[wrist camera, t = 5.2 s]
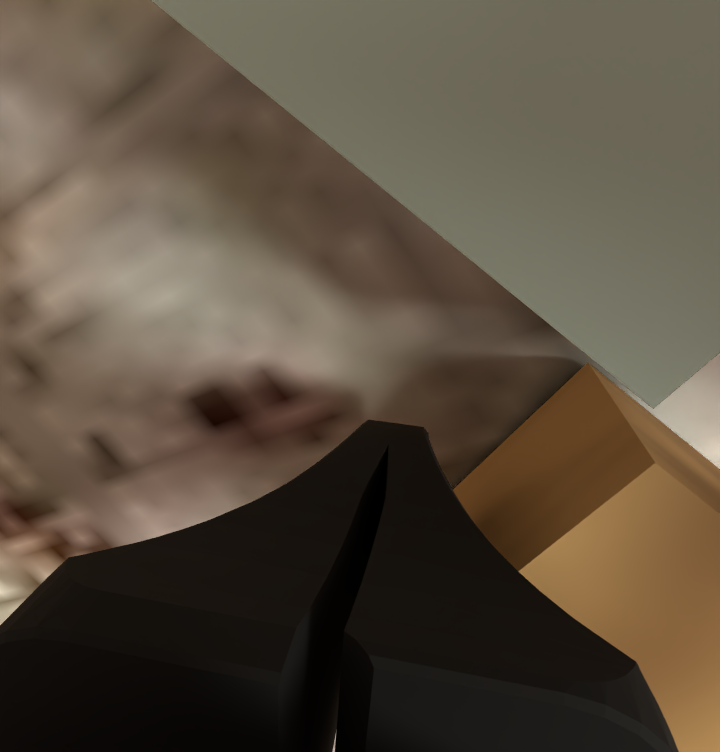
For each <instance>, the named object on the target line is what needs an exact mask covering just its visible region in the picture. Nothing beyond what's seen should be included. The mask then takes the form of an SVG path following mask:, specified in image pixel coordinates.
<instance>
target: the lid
mask: <svg viewBox="0 0 720 752" xmlns="http://www.w3.org/2000/svg"><path fill="white" fill-rule="evenodd" d="M151 1H152V2H153V3H155V4H156V5H157V6H158V7H160V8H161V9H162V10H163V11H165V12H166V13H167V14H168V15H169V16H171V17H172V18H173V19H174V20H176V21H177V22H178V23H179V24H181V25H182V26H183V27H184V28H185V29H187V30H188V31H189V32H190V33H192V34H193V35H194V36H195V37H196V38H198V39H199V40H200V41H201V42H203V43H204V44H205V45H206V46H208V47H209V48H210V49H211V50H212V51H214V52H215V53H216V54H217V55H219V56H220V57H221V58H222V59H224V60H225V61H226V62H227V63H228V64H230V65H231V66H232V67H233V68H235V69H236V70H237V71H238V72H240V73H241V74H242V75H243V76H244V77H246V78H247V79H248V80H249V81H251V82H252V83H253V84H254V85H256V86H257V87H258V88H259V89H260V90H262V91H263V92H264V93H265V94H267V95H268V96H269V97H270V98H272V99H273V100H274V101H275V102H276V103H278V104H279V105H280V106H281V107H283V108H284V109H285V110H286V111H288V112H289V113H290V114H291V115H292V116H294V117H295V118H296V119H297V120H299V121H300V122H301V123H302V124H304V125H305V126H306V127H307V128H308V129H310V130H311V131H312V132H313V133H315V134H316V135H317V136H318V137H320V138H321V139H322V140H323V141H324V142H326V143H327V144H328V145H329V146H331V147H332V148H333V149H334V150H336V151H337V152H338V153H339V154H340V155H342V156H343V157H344V158H345V159H347V160H348V161H349V162H350V163H351V164H353V165H354V166H355V167H356V168H358V169H359V170H360V171H361V172H363V173H364V174H365V175H366V176H367V177H369V178H370V179H371V180H372V181H374V182H375V183H376V184H377V185H379V186H380V187H381V188H382V189H383V190H385V191H386V192H387V193H388V194H390V195H391V196H392V197H393V198H395V199H396V200H397V201H398V202H399V203H401V204H402V205H403V206H404V207H406V208H407V209H408V210H409V211H411V212H412V213H413V214H414V215H415V216H417V217H418V218H419V219H420V220H422V221H423V222H424V223H425V224H427V225H428V226H429V227H430V228H431V229H433V230H434V231H435V232H436V233H438V234H439V235H440V236H441V237H443V238H444V239H445V240H446V241H447V242H449V243H450V244H451V245H452V246H454V247H455V248H456V249H457V250H459V251H460V252H461V253H462V254H463V255H465V256H466V257H467V258H468V259H470V260H471V261H472V262H473V263H475V264H476V265H477V266H478V267H479V268H481V269H482V270H483V271H484V272H486V273H487V274H488V275H489V276H491V277H492V278H493V279H494V280H495V281H497V282H498V283H499V284H500V285H502V286H503V287H504V288H505V289H506V290H508V291H509V292H510V293H511V294H513V295H514V296H515V297H516V298H518V299H519V300H520V301H521V302H522V303H524V304H525V305H526V306H527V307H529V308H530V309H531V310H532V311H534V312H535V313H536V314H537V315H538V316H540V317H541V318H542V319H543V320H545V321H546V322H547V323H548V324H550V325H551V326H552V327H553V328H554V329H556V330H557V331H558V332H559V333H561V334H562V335H563V336H564V337H566V338H567V339H568V340H569V341H570V342H572V343H573V344H574V345H575V346H577V347H578V348H579V349H580V350H582V351H583V352H584V353H585V354H586V355H588V356H589V357H590V358H591V359H593V360H594V361H595V362H596V363H598V364H599V365H600V366H601V367H602V368H604V369H605V370H606V371H607V372H609V373H610V374H611V375H612V376H614V377H615V378H616V379H617V380H618V381H620V382H621V383H622V384H623V385H625V386H626V387H627V388H628V389H630V390H631V391H632V392H633V393H634V394H636V395H637V396H638V397H639V398H641V399H642V400H643V401H644V402H646V403H647V404H648V405H649V406H650V407H652V408H653V409H654V408H655V407H656V406H657V405H658V404H659V403H661V402H662V401H663V400H664V399H665V398H667V397H668V396H669V395H670V394H671V393H672V392H674V391H675V390H676V389H677V388H678V387H680V386H681V385H682V384H683V383H684V382H685V381H687V380H688V379H689V378H690V377H691V376H693V375H694V374H695V373H696V372H697V371H699V370H700V369H701V368H702V367H703V366H704V365H706V364H707V363H708V362H709V361H710V360H712V359H713V358H714V357H715V356H716V355H717V354H719V353H720V0H151Z"/></svg>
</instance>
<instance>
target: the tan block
mask: <svg viewBox="0 0 720 752" xmlns="http://www.w3.org/2000/svg"><path fill="white" fill-rule="evenodd" d="M453 491H454V493H455V495H456V496H457V498H458V499H459V501H460V502H461V504H462V506H463V507H464V509H465V510H466V512H467V513H468V514H469V516H470V517H471V519H472V520H473V521H474V523H475V524H476V526H477V527H478V528H479V529H480V531H481V532H482V533H483V534H484V536H485V537H486V538H487V539H488V541H489V542H490V543H491V544H492V545H493V546H494V547H495V548H496V549H497V550H498V552H499V553H500V554H501V555H502V556H503V557H504V558H505V559H506V560H507V561H508V562H509V563H510V564H511V565H512V566H513V567H514V568H515V569H516V570H517V571H518V572H519V573H521V574H522V575H523V576H524V577H525V578H526V579H527V580H528V581H529V582H531V583H532V584H533V585H534V586H535V587H536V588H537V589H538V590H539V591H541V592H542V593H543V594H544V595H546V596H547V597H548V598H549V599H551V600H552V601H553V602H554V603H555V604H557V605H558V606H559V607H560V608H562V609H563V610H564V611H565V612H566V613H568V614H569V615H570V616H572V617H573V618H574V619H576V620H577V621H578V622H580V623H581V624H583V625H584V626H586V627H587V628H588V629H590V630H591V631H593V632H594V633H596V634H597V635H599V636H600V637H601V638H603V639H604V640H606V641H607V642H609V643H610V644H611V645H613V646H614V647H616V648H617V649H619V650H620V651H622V652H623V653H624V654H626V655H627V656H629V657H630V658H632V659H633V660H634V661H636V662H637V664H638V666H639V668H640V670H641V672H642V674H643V676H644V678H645V680H646V682H647V684H648V686H649V688H650V690H651V691H652V693H653V695H654V697H655V699H656V701H657V703H658V705H659V707H660V709H661V711H662V714H663V716H664V718H665V720H666V722H667V724H668V726H669V729H670V731H671V733H672V736H673V738H674V741H675V743H676V746H677V749H678V751H679V752H720V469H719V468H717V467H716V466H715V465H714V464H713V463H711V462H710V461H709V460H708V459H706V458H705V457H704V456H703V455H701V454H700V453H699V452H698V451H696V450H695V449H694V448H693V447H692V446H690V445H689V444H688V443H687V442H685V441H684V440H683V439H682V438H680V437H679V436H678V435H677V434H676V433H674V432H673V431H672V430H671V429H669V428H668V427H667V426H666V425H664V424H663V423H662V422H661V421H660V420H658V419H657V418H656V417H655V416H653V415H652V414H651V413H650V412H648V411H647V410H646V409H645V408H643V407H642V406H641V405H640V404H639V403H637V402H636V401H635V400H634V399H632V398H631V397H630V396H629V395H627V394H626V393H625V392H624V391H623V390H621V389H620V388H619V387H618V386H616V385H615V384H614V383H613V382H611V381H610V380H609V379H608V378H607V377H605V376H604V375H603V374H602V373H600V372H599V371H598V370H597V369H595V368H594V367H593V366H592V365H590V364H589V363H587V364H585V365H584V366H583V367H582V368H581V369H580V370H579V371H578V372H577V373H576V374H575V375H574V376H573V377H572V378H571V379H570V380H569V381H567V382H566V383H565V384H564V385H563V386H562V387H561V388H560V389H559V390H558V391H557V392H556V393H555V394H554V395H553V396H552V397H551V398H549V399H548V400H547V401H546V402H545V403H544V404H543V405H542V406H541V407H540V408H539V409H538V410H537V411H536V412H535V413H534V414H533V415H531V416H530V417H529V418H528V419H527V420H526V421H525V422H524V423H523V424H522V425H521V426H520V427H519V428H518V429H517V430H516V431H515V432H513V433H512V434H511V435H510V436H509V437H508V438H507V439H506V440H505V441H504V442H503V443H502V444H501V445H500V446H499V447H498V448H497V449H495V450H494V451H493V452H492V453H491V454H490V455H489V456H488V457H487V458H486V459H485V460H484V461H483V462H482V463H481V464H480V465H479V466H477V467H476V468H475V469H474V470H473V471H472V472H471V473H470V474H469V475H468V476H467V477H466V478H465V479H464V480H463V481H462V482H461V483H459V484H458V485H457V486H456V487H455V488H454V489H453Z"/></svg>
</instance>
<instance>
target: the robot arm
mask: <svg viewBox="0 0 720 752" xmlns="http://www.w3.org/2000/svg"><path fill="white" fill-rule="evenodd" d="M336 729H337V732H336ZM335 734H336V745H335V752H679V751H678V749H677V746H676V743H675V741H674V738H673V736H672V733H671V731H670V729H669V726H668V724H667V722H666V720H665V718H664V716H663V714H662V711H661V709H660V707H659V705H658V703H657V701H656V699H655V697H654V695H653V693H652V691H651V690H650V688H649V686H648V684H647V682H646V680H645V678H644V676H643V674H642V672H641V670H640V668H639V666H638V664H637V662H636V661H634V660H633V659H632V658H630V657H629V656H627V655H626V654H624V653H623V652H622V651H620V650H619V649H617V648H616V647H614V646H613V645H611V644H610V643H609V642H607V641H606V640H604V639H603V638H601V637H600V636H599V635H597V634H596V633H594V632H593V631H591V630H590V629H588V628H587V627H586V626H584V625H583V624H581V623H580V622H578V621H577V620H576V619H574V618H573V617H572V616H570V615H569V614H568V613H566V612H565V611H564V610H563V609H562V608H560V607H559V606H558V605H557V604H555V603H554V602H553V601H552V600H551V599H549V598H548V597H547V596H546V595H544V594H543V593H542V592H541V591H539V590H538V589H537V588H536V587H535V586H534V585H533V584H532V583H531V582H529V581H528V580H527V579H526V578H525V577H524V576H523V575H522V574H521V573H519V572H518V571H517V570H516V569H515V568H514V567H513V566H512V565H511V564H510V563H509V562H508V561H507V560H506V559H505V558H504V557H503V556H502V555H501V554H500V553H499V552H498V550H497V549H496V548H495V547H494V546H493V545H492V544H491V543H490V542H489V541H488V539H487V538H486V537H485V536H484V534H483V533H482V532H481V531H480V529H479V528H478V527H477V526H476V524H475V523H474V521H473V520H472V519H471V517H470V516H469V514H468V513H467V512H466V510H465V509H464V507H463V506H462V504H461V502H460V501H459V499H458V498H457V496H456V495H455V493H454V491H453V490H452V488H451V486H450V484H449V482H448V481H447V479H446V477H445V475H444V473H443V471H442V469H441V467H440V465H439V463H438V461H437V459H436V456H435V454H434V451H433V449H432V446H431V443H430V440H429V436H428V432H427V431H426V430H425V428H424V427H418V426H411V425H403V424H396V423H389V422H381V421H374V420H368V421H366V422H365V423H364V424H362V425H361V426H360V427H359V428H358V429H357V430H356V431H355V432H354V433H352V434H351V435H350V436H349V437H348V438H347V439H346V440H345V441H343V442H342V443H341V444H340V445H339V446H338V447H336V448H335V449H334V450H333V451H331V452H330V453H329V454H328V455H326V456H325V457H324V458H323V459H321V460H320V461H319V462H317V463H316V464H315V465H313V466H312V467H310V468H309V469H308V470H306V471H305V472H303V473H302V474H300V475H299V476H297V477H296V478H295V479H293V480H292V481H290V482H288V483H287V484H285V485H283V486H281V487H280V488H278V489H276V490H274V491H272V492H270V493H269V494H267V495H265V496H263V497H261V498H259V499H257V500H255V501H253V502H251V503H249V504H246V505H244V506H241V507H239V508H237V509H234V510H232V511H230V512H227V513H225V514H223V515H220V516H218V517H216V518H213V519H211V520H208V521H205V522H203V523H200V524H197V525H194V526H191V527H188V528H185V529H182V530H179V531H176V532H172V533H169V534H166V535H163V536H159V537H156V538H152V539H149V540H145V541H141V542H137V543H133V544H129V545H124V546H120V547H115V548H111V549H107V550H102V551H98V552H93V553H89V554H85V555H79V556H74V557H69V558H68V559H67V560H66V561H64V562H63V563H62V564H61V565H60V566H59V567H58V568H57V569H56V570H55V571H54V572H53V573H52V574H51V575H50V576H49V577H48V578H47V579H46V580H45V581H44V582H43V583H42V584H41V585H40V586H39V587H38V588H37V589H36V590H35V591H34V592H33V593H32V594H31V595H30V596H29V597H28V598H27V599H26V600H25V601H24V602H23V603H22V604H21V605H20V606H19V607H18V608H17V609H16V610H15V611H14V612H13V613H12V614H11V615H10V616H9V617H8V618H7V619H6V620H5V621H4V622H3V623H2V624H1V625H0V752H332V750H333V745H334V739H335Z"/></svg>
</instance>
